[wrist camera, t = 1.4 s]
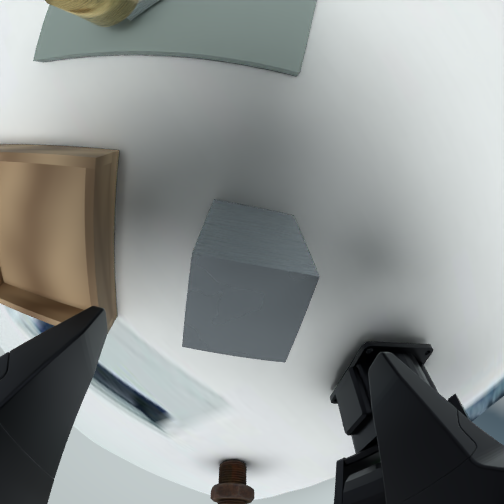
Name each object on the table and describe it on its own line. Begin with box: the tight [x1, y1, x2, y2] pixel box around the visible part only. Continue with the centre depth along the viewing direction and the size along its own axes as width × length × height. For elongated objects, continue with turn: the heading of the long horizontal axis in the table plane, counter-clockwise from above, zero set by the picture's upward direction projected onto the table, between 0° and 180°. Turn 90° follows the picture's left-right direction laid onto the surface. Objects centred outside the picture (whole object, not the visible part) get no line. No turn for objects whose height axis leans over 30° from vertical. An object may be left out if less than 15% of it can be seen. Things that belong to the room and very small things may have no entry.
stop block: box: [182, 199, 319, 362], centre depth 12 cm, size 4×4×6 cm
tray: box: [0, 144, 119, 334], centre depth 13 cm, size 10×10×2 cm
